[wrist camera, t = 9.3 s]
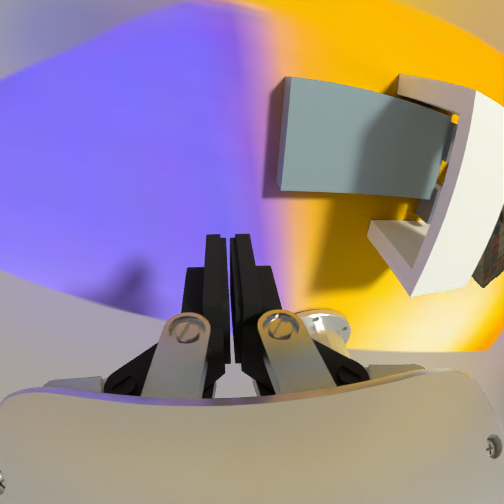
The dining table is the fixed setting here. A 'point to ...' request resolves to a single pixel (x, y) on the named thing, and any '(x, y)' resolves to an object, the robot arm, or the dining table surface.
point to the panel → (358, 141)
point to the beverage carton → (492, 255)
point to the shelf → (449, 195)
